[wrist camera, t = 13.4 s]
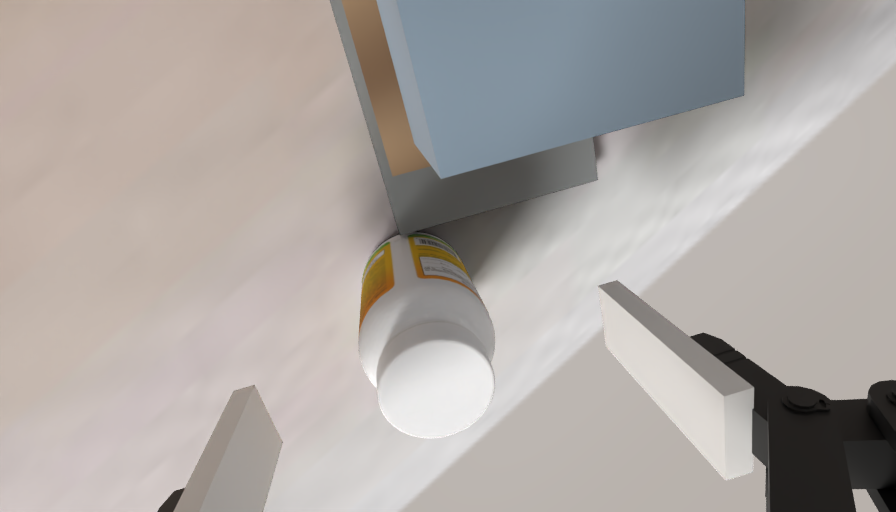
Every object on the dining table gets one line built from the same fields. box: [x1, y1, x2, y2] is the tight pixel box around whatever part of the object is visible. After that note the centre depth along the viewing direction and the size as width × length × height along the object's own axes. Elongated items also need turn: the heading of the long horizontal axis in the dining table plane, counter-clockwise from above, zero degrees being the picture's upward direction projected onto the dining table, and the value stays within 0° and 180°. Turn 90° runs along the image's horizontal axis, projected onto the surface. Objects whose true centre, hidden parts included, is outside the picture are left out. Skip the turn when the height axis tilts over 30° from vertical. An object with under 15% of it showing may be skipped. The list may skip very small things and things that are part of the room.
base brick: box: [342, 0, 431, 176], centre depth 17 cm, size 9×9×4 cm
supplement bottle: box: [359, 232, 495, 438], centre depth 19 cm, size 5×5×10 cm
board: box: [330, 0, 598, 235], centre depth 19 cm, size 16×10×2 cm, turn 14°
